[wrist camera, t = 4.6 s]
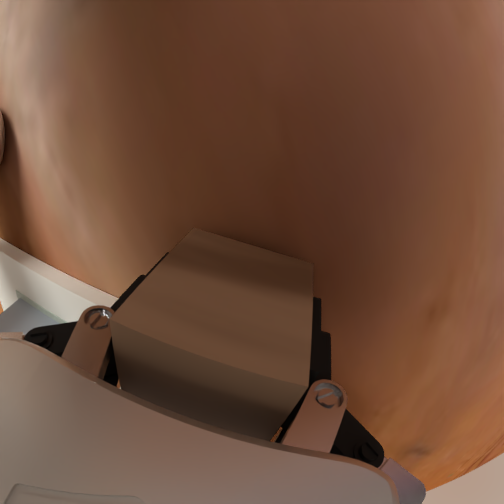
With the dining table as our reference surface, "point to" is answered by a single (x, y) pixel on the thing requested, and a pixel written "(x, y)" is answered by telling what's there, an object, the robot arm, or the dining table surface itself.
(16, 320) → the base block
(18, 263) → the board
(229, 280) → the walnut block
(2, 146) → the plastic bottle
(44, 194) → the dining table surface
